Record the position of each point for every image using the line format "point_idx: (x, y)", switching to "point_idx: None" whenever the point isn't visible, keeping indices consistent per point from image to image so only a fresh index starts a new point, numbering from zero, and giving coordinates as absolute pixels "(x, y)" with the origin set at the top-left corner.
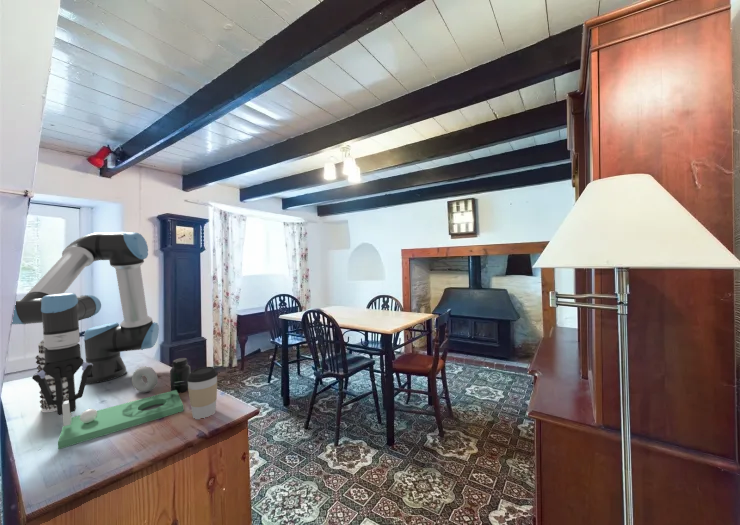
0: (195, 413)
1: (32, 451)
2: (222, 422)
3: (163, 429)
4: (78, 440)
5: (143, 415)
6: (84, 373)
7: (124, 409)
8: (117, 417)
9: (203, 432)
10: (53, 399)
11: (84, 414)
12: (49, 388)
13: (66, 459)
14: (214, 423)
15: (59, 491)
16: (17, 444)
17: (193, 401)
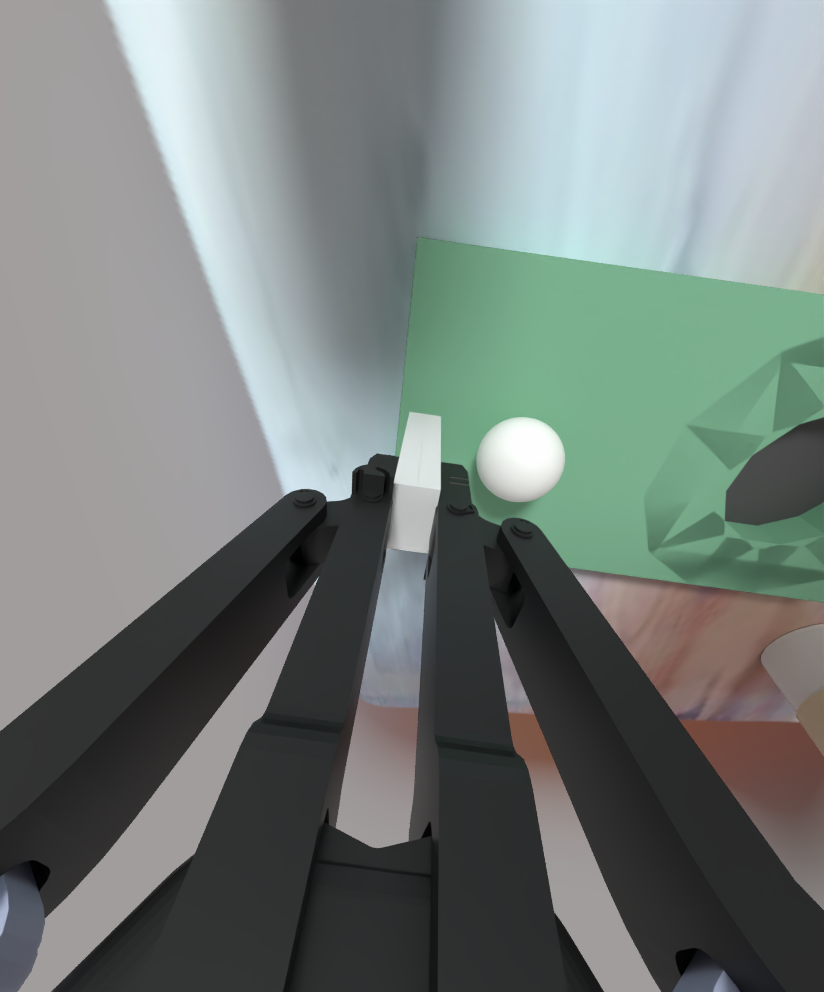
0: (776, 682)
1: (311, 466)
2: (765, 714)
3: (660, 642)
4: None
5: (687, 571)
6: (637, 909)
7: (700, 419)
8: (617, 501)
9: (696, 715)
10: (319, 550)
11: (498, 494)
12: (231, 619)
13: (411, 601)
14: (752, 705)
15: (398, 693)
16: (225, 321)
17: (817, 740)
